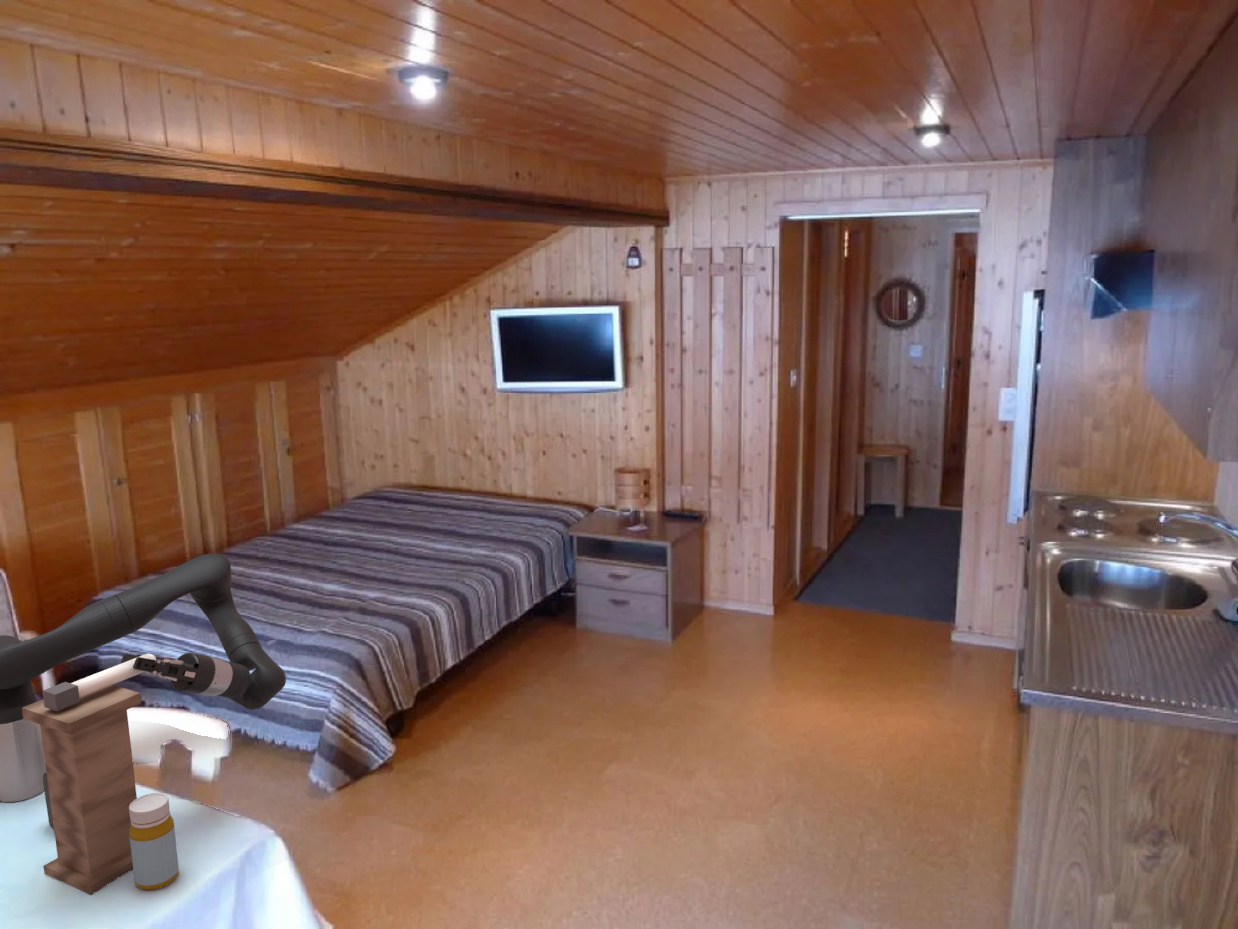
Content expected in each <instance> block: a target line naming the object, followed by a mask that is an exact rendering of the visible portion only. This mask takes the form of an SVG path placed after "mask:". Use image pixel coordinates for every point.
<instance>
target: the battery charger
mask: <svg viewBox="0 0 1238 929" xmlns="http://www.w3.org/2000/svg"><path fill="white" fill-rule="evenodd" d="M43 784H44V791H43V792H44V798H45V805H46V811H47V812H46V813H47V818H48V824H49V825H50V826H51V828H52V829H53V830H54V826H53V819H52V811H51V804H50V796H49V789H48V781H47V774H46V773H44V774H43Z"/></svg>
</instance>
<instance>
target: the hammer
mask: <svg viewBox="0 0 1238 929" xmlns="http://www.w3.org/2000/svg"><path fill="white" fill-rule="evenodd" d="M141 655H142V656H139V657H141V658H147V659H152V660H156V657H155V656H156V655H154V654H151V653H144V654H141ZM135 660H136V658H134V659H132V660H129V661H126V662H124V663H121V662H120V663H119V664H116V665H113V666H111V667H108V668H106V669H104V670H102V671H99V672H96V673H93V674H91V675H87V676H86V677H84V678H80V679H78V680H76V681H75V680H74V681H73V682H71V683H70V682H68V681H64V682H60V683H59V684H57V685H54V686H51V687H48V688H47V689H43V690H42V697H43V699H44V707H46V708H49V709H52V710H55V711H59V710H61V709H64V708H66V707H68V706H71V705H73V704H76V703H78V702H80V700H79V698H81V697H84V696H86V695H89V694H91V693H94V692H96V691H99V690H101V689H103V688H106V687H108V686H111V685H115V684H118V683H120V682H123V681H125V680H127V679H130V678H133V677H135V676H137V675H141V674H142V673H146V671H142V670H137V669H134V668H133V665H134V663H135ZM155 663H156V662H155ZM43 699H42V700H43Z"/></svg>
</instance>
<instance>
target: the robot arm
mask: <svg viewBox="0 0 1238 929" xmlns="http://www.w3.org/2000/svg"><path fill="white" fill-rule="evenodd" d="M231 566H232V565H231V561H230V560H229V559H228V558H227V557H226V556H225V555H223V554H219V553H207V554H203V555H200V556H199V555H198V556H197V557H195V558H192V559H190V560H187V562H184V563H183V564H181V565H179V566H177V567H174V568H173V569H171V570H169V571H168V572H167V571H166V572H164V573H163V574H161V575H159V576H157V577H155V578H151V579H149V580H147V581H145V582H143V583H140V584H138V585H136V586H133V587H131V588H128V589H126V590H123V591H120V592H118V593H115V594H113V595H111V596H107V597H105V598H103V599H100V600H98V601H95V602H93V603H91V604H90V605H87V606H86V607H84V608H83V609H82V610H79V612H77V613H76V614H74V615H73V616H72V617H70V618H69V619H68V620H67V621H65V622H63V624H61V625H59V626H57V627H56V628H54V629H52V630H50V631H48V632H46V633H43V634H41V635H38V636H35V637H33V638H29V639H26V640H24V641H22V640H21V639H19V638H17V637H16V636H11V635H6V634H5V635H3V634H1V635H0V802H4V803H12V802H13V803H14V802H20V801H24V800H28V799H31V798H34V797H36V796H37V795H39V794H41V793H42V792H44V784H43V774H44V773H46V766H45V759H44V751H43V744H42V736H41V729H40V724H37V723H34V722H32V721H29V720H26V719H23V714H22V708H23V707H25V706H28V705H30V704H33V703H35V702H38V697H37V694H36V692H35V688H34V685H33V682H32V680H34V679H35V678H38V676H39V677H40V676H41V675H42V674H44V673H46V672H48V671H49V670H52V669H54V668H55V667H57V666H59V665H62V664H63V663H65V662H67V661H69V660H72V659H74V658H76V657H79V656H81V655H83V654H86V653H88V652H91V651H93V650H95V649H98V648H100V647H102V646H105V645H106V644H110V643H113V642H114V641H117V640H119V639H122V638H124V637H126V636H129V635H131V634H133V633H136V632H137V631H139V630H141V629H142V628H144V627H145V626H146V625H147V624H149V622H151V621H152V620H153V619H154V618H155V617H156V616H158V615H159V614H160V613H162V611H163V610H164V609H165V608H167V607H168V606H169V605H170V604H172V603H173V602H174V601H176V600H179V599H181V598H182V597H184V596H186V595H188V594H189V595H190V596H191V598H192V599H193V601H194V602H195V603H196V605H197V606H198V607H199V609H200V610H201V611H202V612H203V614H204V615H205V616H206V618H207V619H208V621H209V622H210V624H211V625H212V627H213V629H214V631H215V632H216V635H217V637H218V639H219V641H220V643H221V645H222V648H223V649H224V652H225V654H226V656H227V660H228V661H227V660H223V659H220V658H217V657H214V656H210V655H204V654H200V653H196V652H186V653H183V654H180V656H179V657H178V658H174V657H170V656H165V657H163V656H157V655H154V656H155V657H156V660H152V659H147V658H141V657H139V656H142V655H143V654H140V653H139V654H136V655H135V654H130V653H124V654H123V656H122V658H121V661H120V664H121V663H124V662H126V661H129V660H132V659H134V658H136V660H135V663H134V665H133V668H134V669H137V670H142V671H145V673H146V674H148V675H152V676H158V677H159V678H162V679H167V680H170V684H171V686H172V687H173V689H175V690H176V691H178V692H181V693H182V692H183V693H189V694H197V695H201V696H214V697H215V696H216V697H222V698H227V699H229V700H231V701H233V702H234V703H237V704H238V705H240V706H241V707H243V708H245V709H247V710H250V711H252V710H253V711H255V710H259V709H261V708H263V707H265V706H266V705H267V704H268V703H269V702H270V701H271V700H272V699H273V698H274V697H275V696H276V695H277V694H278V693H279V692H281V691H282V690H283V689H284V688H285V686H286V682H287V679H286V678H287V676H286V673H285V671H284V670H283V668H282V666H280V665H279V664H278V663H276V662H275V661H274V660H273V659H272V657H270V656H269V654H268V653H267V652H266V651H265V650H264V648H263V647H262V645H261V643H260V641H259V638H258V637H257V635H256V633H255V632H254V629H253V628H252V627H251V625H250V623H248V621H246V620H245V619H244V618H243V617H242V616H241V615H240V613H239V612H238V609H237V608H236V605H235V602H234V598H233V593H232V589H231V588H232V567H231ZM155 662H156V663H155ZM251 671H252V672H251ZM250 672H251V673H250Z"/></svg>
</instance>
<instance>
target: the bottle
mask: <svg viewBox="0 0 1238 929" xmlns="http://www.w3.org/2000/svg"><path fill="white" fill-rule="evenodd" d="M170 811H171V810H170V800H169V797H168V795H167V794H165V793H161V792H153V793H148V794H144V795H141V796H139V797H137V799H135V800H134V801H133V802H132V803H131V804H130V806H129V813H130V819H131V826H130V830H129V837H130V846H131V854H132V863H133V869H132V871H133V878H134V883H135V885H136V887H138V888H140V889H142V890H143V889H144V891H154V889H155V890H158V889H162V888H164V887H167V886H168V885H169V884H171V883H172V882H173V881H174V880H175V879H176V878H177V876H178V875H179V871H180V870H179V860H178V859H179V857H178V849H177V841H176V838H177V837H176V830H175V822H174V819H173V817H172V815H171V812H170Z"/></svg>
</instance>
